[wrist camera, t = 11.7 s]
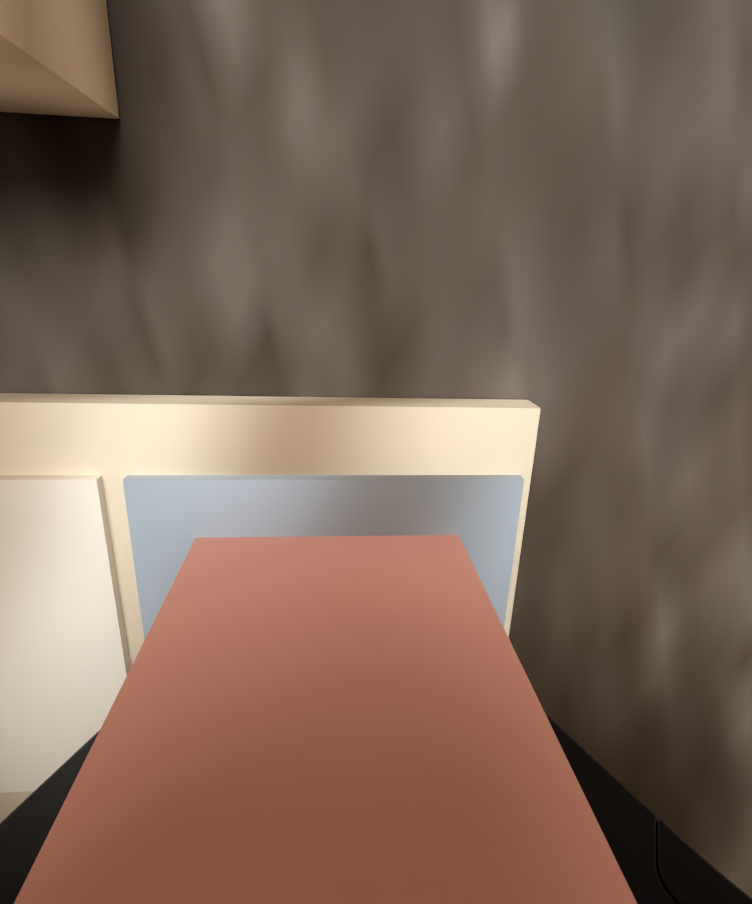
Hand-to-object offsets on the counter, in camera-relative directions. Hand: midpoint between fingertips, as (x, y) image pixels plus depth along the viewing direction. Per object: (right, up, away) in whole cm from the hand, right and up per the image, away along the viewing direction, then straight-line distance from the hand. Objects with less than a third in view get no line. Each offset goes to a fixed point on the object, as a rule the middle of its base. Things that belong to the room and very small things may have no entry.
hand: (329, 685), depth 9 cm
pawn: (0, 0, +1) cm, 1 cm away
